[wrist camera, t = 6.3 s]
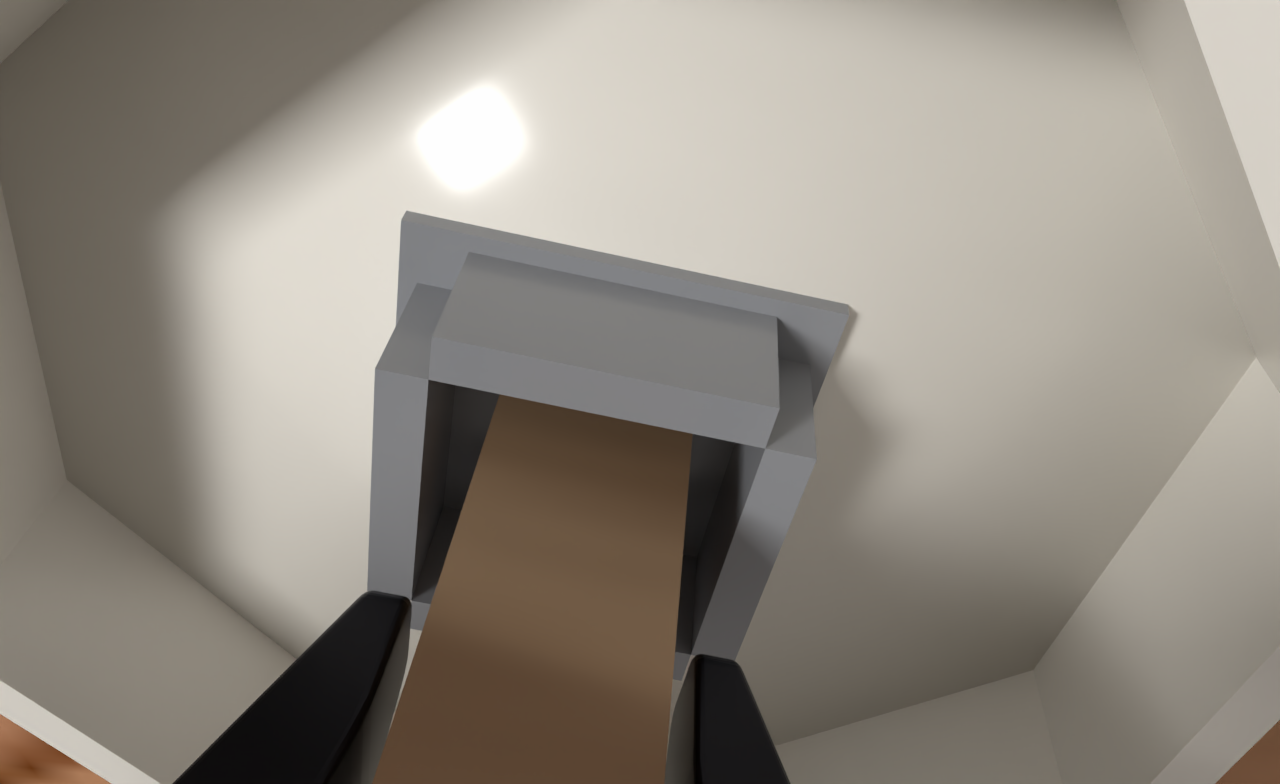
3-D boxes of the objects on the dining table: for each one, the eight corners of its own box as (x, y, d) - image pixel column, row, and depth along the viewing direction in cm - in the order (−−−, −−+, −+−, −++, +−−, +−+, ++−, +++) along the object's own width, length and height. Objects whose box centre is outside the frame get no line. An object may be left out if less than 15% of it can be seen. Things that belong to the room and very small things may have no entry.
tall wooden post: (658, 511, 12) (552, 1463, 6) (495, 476, 12) (214, 1407, 6) (697, 384, 11) (614, 1414, 5) (515, 343, 11) (188, 1342, 5)
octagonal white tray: (947, 804, 17) (980, 1014, 14) (92, 642, 16) (-28, 833, 14) (1603, -100, 8) (1975, 34, 6) (-182, -529, 8) (-647, -591, 5)
